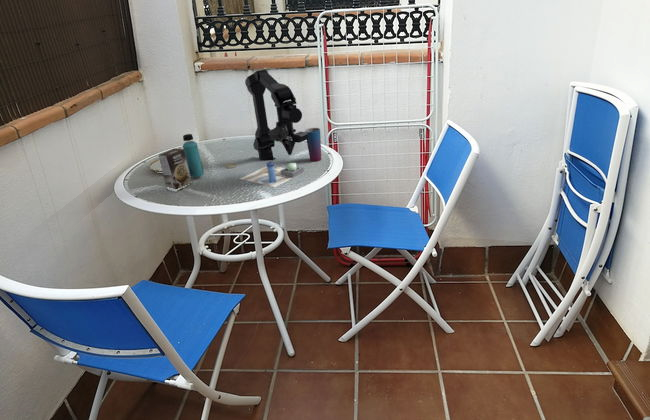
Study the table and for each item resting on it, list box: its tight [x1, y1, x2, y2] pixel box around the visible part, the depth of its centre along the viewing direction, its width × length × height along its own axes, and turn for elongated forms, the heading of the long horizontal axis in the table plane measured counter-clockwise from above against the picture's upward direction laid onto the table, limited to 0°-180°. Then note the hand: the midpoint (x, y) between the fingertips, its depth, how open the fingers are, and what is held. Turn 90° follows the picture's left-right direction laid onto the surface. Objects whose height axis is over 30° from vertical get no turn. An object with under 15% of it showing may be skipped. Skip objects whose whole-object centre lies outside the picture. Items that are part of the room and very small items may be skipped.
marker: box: [266, 161, 276, 183], centre depth 199 cm, size 3×3×8 cm
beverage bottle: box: [182, 133, 205, 178], centre depth 213 cm, size 6×7×20 cm
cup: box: [304, 127, 322, 163], centre depth 217 cm, size 7×7×15 cm
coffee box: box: [158, 148, 193, 189], centre depth 205 cm, size 9×6×16 cm
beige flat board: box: [240, 165, 299, 188], centre depth 208 cm, size 23×20×1 cm
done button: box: [286, 162, 297, 172], centre depth 206 cm, size 4×4×3 cm
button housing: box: [281, 165, 305, 179], centre depth 207 cm, size 7×7×2 cm
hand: (289, 154), depth 204 cm, fingers closed
